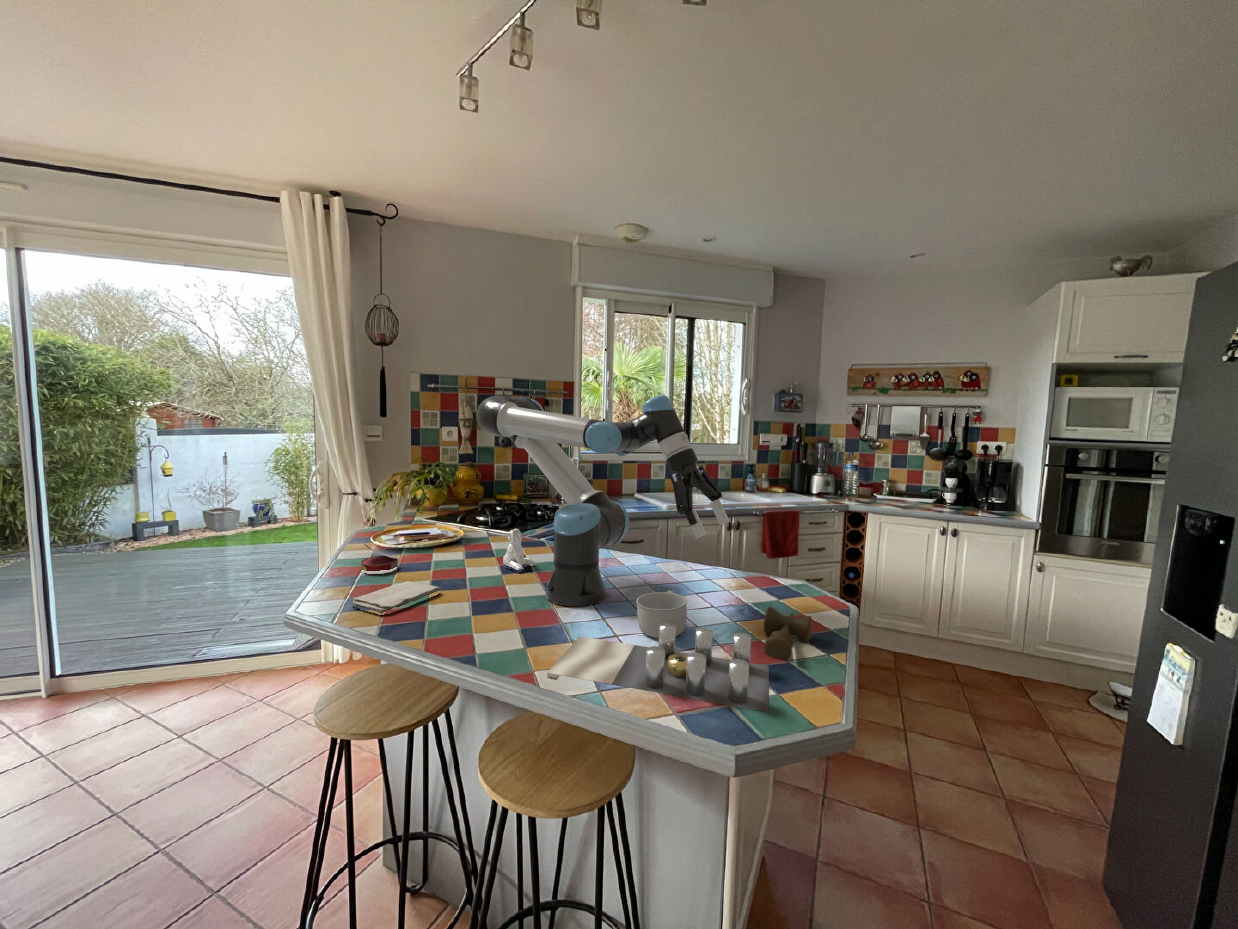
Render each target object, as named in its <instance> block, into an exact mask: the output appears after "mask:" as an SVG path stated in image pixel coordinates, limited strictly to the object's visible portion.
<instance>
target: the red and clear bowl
mask: <svg viewBox="0 0 1238 929" xmlns="http://www.w3.org/2000/svg"><path fill="white" fill-rule="evenodd" d="M362 544H363V545H364V546H365V547H366V548H367V549H370V550H372V551H373V552H376V553H378V554H380V555H377V556H371V557H366V558H364V559H362V560H361V561H360V565H361V566H360V568H361V570H365V571H380V570H390V569H393V568H395V567H397V566H398V567H399V561H398V560H399V559H398V557H397V556H394V555H390V554H386V553H383V552H379V551H377V550H375V549H374V548H371V546H369V545H368V544H366V543H365V542H363V543H362ZM361 570H360V571H361Z"/></svg>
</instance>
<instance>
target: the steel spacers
mask: <svg viewBox="0 0 1238 929" xmlns="http://www.w3.org/2000/svg"><path fill="white" fill-rule="evenodd" d="M713 636H714V631H713V630H712V629H710V628H708V627H698V628H696V629H695V636H694V637H695V638H694V640H695V642H694V652H689V654H688V655H687V666H686V692H687V693H688V694H690V695H692V696H701V695H703V694H704V693H705V672H706V666H707V665H710V664H711V662H712V657H713V638H714V637H713ZM676 638H677V636H676V625H675V624H672V623H661V624H660V625H659V639H658V646H655V645H654V646H647V647H648V648H647V649H646V676H645V684H646V686H647V687H649V688H652V689H659V688H662V687H663V686H664V665H665V660H668V657H669V656H670V655H673V654H675V651H676ZM732 638H733V639H732V656H731V657H732V658H731V659H729V660H730V661H729V678H728V699H729V700H730V701H731V702H733V703H737V704H743V703H746V702H747V698H748V679H749V670H750V663H751V652H752V651H751V649H752V636H751V634H748V633H746V632H736V633H734V634H733V637H732Z"/></svg>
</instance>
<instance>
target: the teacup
mask: <svg viewBox="0 0 1238 929" xmlns="http://www.w3.org/2000/svg"><path fill="white" fill-rule="evenodd" d="M635 601H636V609H637V610H636V612H637V623H638V627H639V630H640V631H641V632H642V633H643V634H645V636H648V637H650V638H652V639H653V638H654V639H658V640H659V625H660V624H661V623H672V624H675V625H676V637H678V636H679V635H680V634H682V633H683V632H684V631H685V629H686V626H687V614H688V613H687V604H688V600H687V598H686V597H685V596H683V595H681V594H678V593H675V591H674V590H670V589H669V590H667V591H666V592H665V591H664V592H663V591H656V592H655V591H654V592H650V593H649V592H648V593H645V594H642V595H640V596H639V597H637V598H636V600H635Z"/></svg>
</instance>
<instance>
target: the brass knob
mask: <svg viewBox="0 0 1238 929" xmlns="http://www.w3.org/2000/svg"><path fill="white" fill-rule="evenodd" d="M686 666H687V655H684V654H673V655H670V656H669V657H668V673H669V674H670V675H671V676H673V677H676V678H686Z"/></svg>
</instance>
